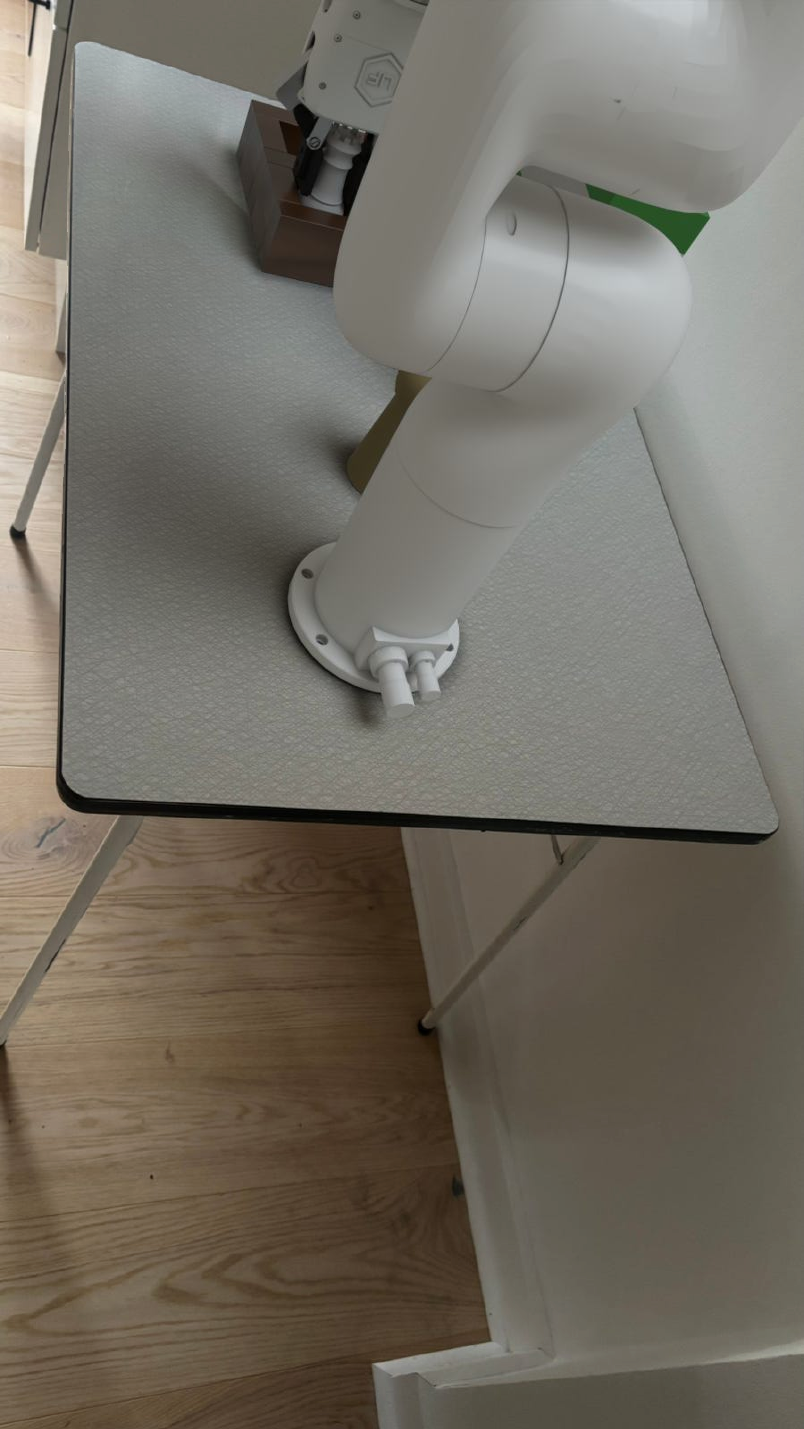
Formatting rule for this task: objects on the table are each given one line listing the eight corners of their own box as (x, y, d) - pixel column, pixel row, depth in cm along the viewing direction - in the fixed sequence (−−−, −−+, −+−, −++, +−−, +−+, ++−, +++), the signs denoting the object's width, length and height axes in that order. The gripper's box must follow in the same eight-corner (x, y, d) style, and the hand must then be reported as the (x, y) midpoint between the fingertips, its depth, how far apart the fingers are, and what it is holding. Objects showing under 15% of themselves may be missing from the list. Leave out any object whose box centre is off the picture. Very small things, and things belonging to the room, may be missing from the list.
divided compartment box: (431, 309, 95) (457, 259, 90) (262, 271, 87) (281, 215, 83) (394, 199, 102) (415, 147, 98) (235, 155, 95) (251, 98, 91)
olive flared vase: (410, 519, 78) (473, 414, 70) (338, 485, 77) (394, 374, 69) (423, 470, 82) (485, 365, 73) (355, 438, 81) (410, 326, 72)
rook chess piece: (342, 214, 91) (375, 130, 85) (335, 241, 88) (369, 155, 82) (295, 193, 90) (325, 105, 83) (287, 219, 87) (317, 130, 81)
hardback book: (441, 307, 95) (573, 49, 77) (510, 329, 98) (653, 85, 80) (465, 440, 86) (622, 183, 68) (540, 459, 89) (710, 217, 71)
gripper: (311, -53, 68) (237, 196, 82) (519, 26, 75) (419, 242, 89) (292, -107, 71) (225, 140, 85) (493, -26, 78) (401, 189, 92)
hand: (325, 190), depth 87 cm, fingers closed on rook chess piece, 3 cm apart
